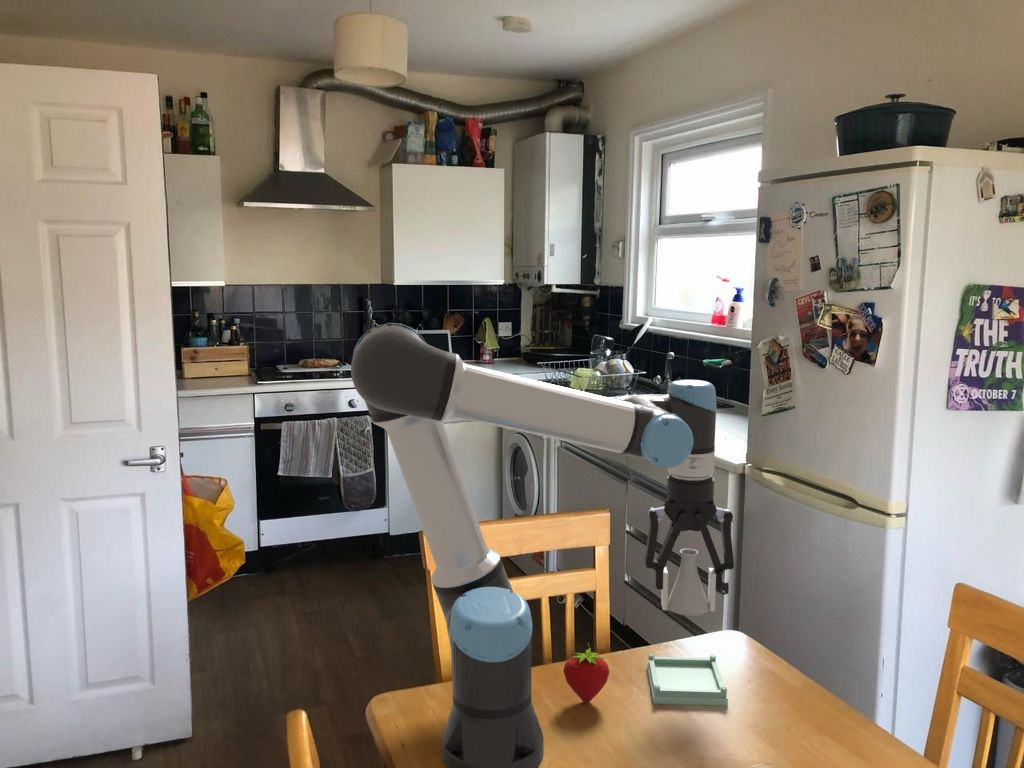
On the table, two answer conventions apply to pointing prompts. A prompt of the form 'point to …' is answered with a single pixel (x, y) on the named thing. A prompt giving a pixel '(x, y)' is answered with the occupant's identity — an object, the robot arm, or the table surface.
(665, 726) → the table surface
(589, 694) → the strawberry
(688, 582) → the flask
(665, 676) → the base board
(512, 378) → the robot arm
